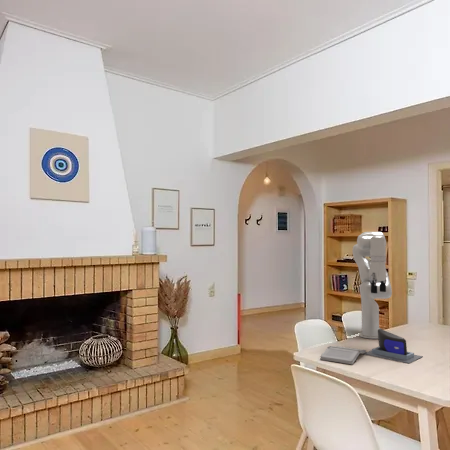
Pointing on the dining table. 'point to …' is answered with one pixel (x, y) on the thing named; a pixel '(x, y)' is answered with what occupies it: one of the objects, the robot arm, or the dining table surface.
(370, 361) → the dining table surface
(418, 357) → the switch cradle
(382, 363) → the dining table surface
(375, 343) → the dining table surface
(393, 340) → the leaning round-cornered charcoal block
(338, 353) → the gadget
